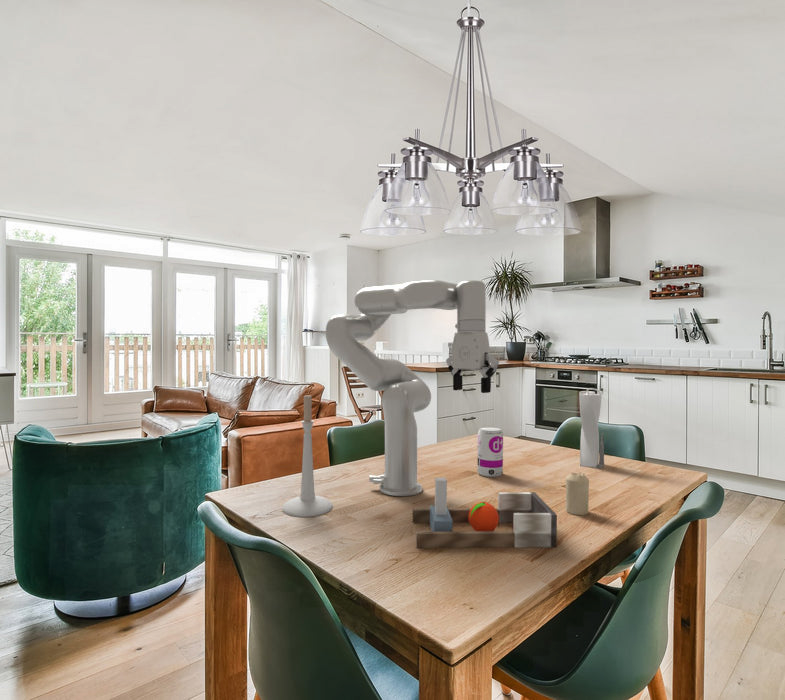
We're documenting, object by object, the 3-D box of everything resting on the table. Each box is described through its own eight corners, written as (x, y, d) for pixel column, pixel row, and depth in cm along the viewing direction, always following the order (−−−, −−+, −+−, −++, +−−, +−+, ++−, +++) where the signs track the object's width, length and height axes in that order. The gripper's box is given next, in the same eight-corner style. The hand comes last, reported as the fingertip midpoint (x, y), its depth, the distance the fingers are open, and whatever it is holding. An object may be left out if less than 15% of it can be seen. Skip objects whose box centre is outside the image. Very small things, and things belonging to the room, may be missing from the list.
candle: (582, 507, 130) (583, 470, 130) (592, 515, 125) (592, 476, 124) (562, 507, 130) (562, 470, 130) (570, 515, 124) (571, 476, 124)
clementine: (482, 542, 108) (482, 510, 107) (458, 533, 113) (459, 502, 113) (505, 533, 113) (505, 502, 112) (481, 524, 118) (481, 495, 118)
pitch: (416, 547, 105) (416, 515, 105) (412, 520, 120) (412, 492, 120) (556, 547, 105) (556, 514, 105) (534, 520, 121) (534, 492, 121)
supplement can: (507, 476, 160) (508, 430, 159) (485, 478, 157) (486, 431, 156) (493, 469, 167) (494, 425, 167) (472, 472, 164) (473, 427, 164)
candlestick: (279, 503, 133) (279, 392, 132) (326, 497, 137) (326, 390, 137) (286, 519, 121) (286, 397, 120) (337, 513, 125) (337, 395, 125)
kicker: (434, 540, 108) (434, 485, 107) (429, 523, 118) (430, 473, 117) (452, 540, 108) (452, 485, 107) (446, 523, 118) (446, 473, 117)
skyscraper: (600, 470, 168) (602, 389, 167) (575, 467, 172) (577, 387, 172) (604, 465, 175) (605, 386, 174) (580, 462, 179) (581, 385, 179)
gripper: (438, 328, 136) (438, 389, 136) (488, 326, 122) (488, 394, 123) (456, 328, 140) (456, 388, 141) (506, 326, 127) (506, 392, 128)
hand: (471, 391), depth 132 cm, fingers open, 9 cm apart
